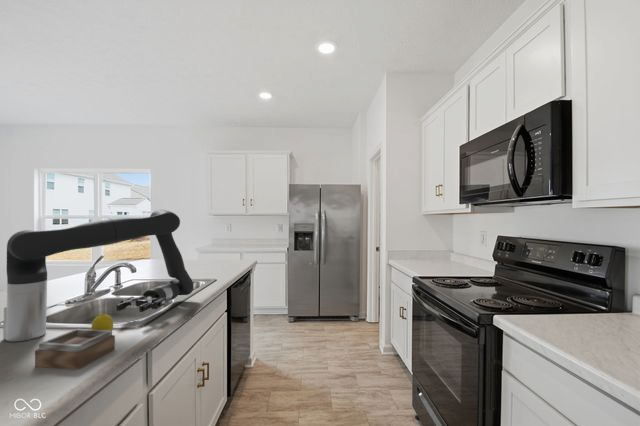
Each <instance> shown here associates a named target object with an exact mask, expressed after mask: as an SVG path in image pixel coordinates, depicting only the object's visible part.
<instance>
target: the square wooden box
mask: <svg viewBox="0 0 640 426" xmlns="http://www.w3.org/2000/svg"><path fill="white" fill-rule="evenodd" d="M115 339H116V335H114V334H113V330H112V331H110V330H92V329H89V328H86V329H85V328H75V329H72V330H70V331H68V332H65V333H63V334H60V335H58V336H56V337H55V336H54V337H53V338H49V339H47V340H46V341H42V342H40V343H38V349H35V351H34V367H38V368H39V367H40V368H55V369H67V370H80V369H81V368H83V367H85V366H87V365H88V364H91V363H92V362H94V361H96V360H98V359H100V358H102V357H104V356H105V355H107V354H109V353H110V352H112V351H114V350H115V347H116V343H115V342H116V340H115Z"/></svg>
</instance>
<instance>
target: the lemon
mask: <svg viewBox="0 0 640 426" xmlns="http://www.w3.org/2000/svg"><path fill="white" fill-rule="evenodd" d="M91 329H92V330H110V331H112V332H113V330H114V321H113V318H112V317H111V316H110V315H108V314H105V313H100V315H97V316H96V317H95V318H94V319H93V321H92V323H91Z"/></svg>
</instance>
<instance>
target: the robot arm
mask: <svg viewBox="0 0 640 426" xmlns="http://www.w3.org/2000/svg"><path fill="white" fill-rule="evenodd" d="M180 225H181V219H180V217H179V216H178V215H177V214H176V213H174V212H173V211H170V210H166V209H156V210H154V211H153V212H152V213H151V214H150V216H147V217H112V218H104V219H98V220H94V221H93V220H92V221H88V222H84V223H81V224H78V225H75V226H70V227H67V228H60V229H50V230H48V229H47V230H33V229H32V230H31V229H25V230H20V231H17V232H15V233H14V234H12V235H11V236H10V237H9V239H8V240H7V242H6V243H7V244H6V281H7V283H6V306H5V307H4V308H3V328H2V329H3V333H2V334H3V335H2V336H3V337H2V339H3V340H5V341H6V342H13V343H14V342H25V341H29V340H34V339H38V338H39V337H42V336H45V334H46V333H47V311H48V310H47V300H48V299H47V298H48V270H47V261H46V260H47V259H46V257H49V256H53V255H56V254H60V253H64V252H68V251H72V250H73V251H74V250H80V249H81V250H82V249H88V248H96V247H102V246H108V245H113V244H117V243H123V242H126V241H132V240H135V239H138V238H143V237H149V236H155V237H156V240H157V243H158V245H159V248H160V250H161V254H162V256H163V260H164V264H165V267H166V271H167V274H168V277H170V278H172V280H171V279H170V280H169V281H168V282H167V283H166V284H162V285H159V286H156V287H153V288H150V289H148V290H146V291H144V292H143V294H142V296H141V295H140V296H138V297H135V296H130V297H127V298H124V299H120V300H119V303H118V304H116V306H115V307H116V309H115V310H116V312H120V311H122V310H125V309H129V308H131V309H136V308H138V309H139V311H138V312H139V313H143V312H145V311H147V310H158V309H159V308H162V307H163V306H165V305H166V304H167V303H169V302H170V301H172V300H174V299H176V298H177V297H179V296H188V295H190V294H192V293H193V290H194V288H195V287H194V281H193V279H192V278H191V276H190V274H189V273H188V271H187V270H186V267H185V263H184V258H183V257H182V253H181V251H180V249H179V247H178V246H177V244H176V242H175V240H174V237H173V233H174V232H175V231H177V230H178V229H179V227H180Z"/></svg>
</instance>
